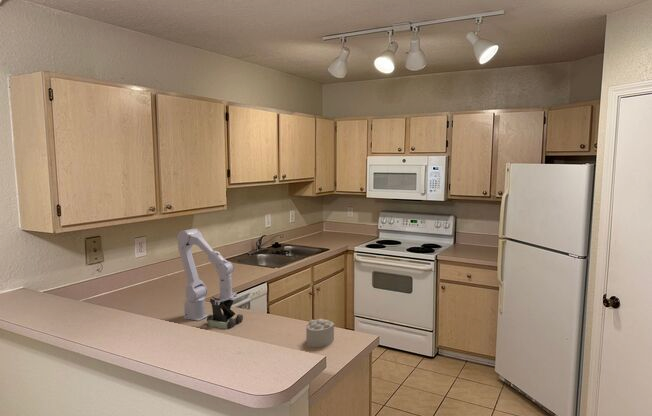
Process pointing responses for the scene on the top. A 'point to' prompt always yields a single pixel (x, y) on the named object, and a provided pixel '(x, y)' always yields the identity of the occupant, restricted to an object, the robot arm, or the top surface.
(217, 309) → the phone stand
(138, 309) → the top surface
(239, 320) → the chassis bay
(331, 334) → the lumpy-topped squat cylinder
